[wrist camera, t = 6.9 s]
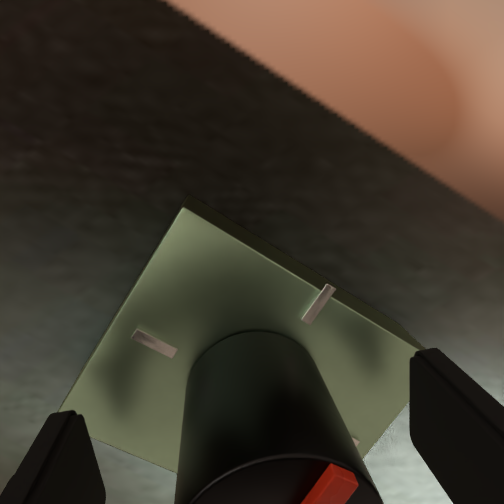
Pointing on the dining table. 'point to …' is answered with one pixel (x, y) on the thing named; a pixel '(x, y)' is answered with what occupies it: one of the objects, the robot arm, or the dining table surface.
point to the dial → (265, 430)
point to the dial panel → (229, 324)
